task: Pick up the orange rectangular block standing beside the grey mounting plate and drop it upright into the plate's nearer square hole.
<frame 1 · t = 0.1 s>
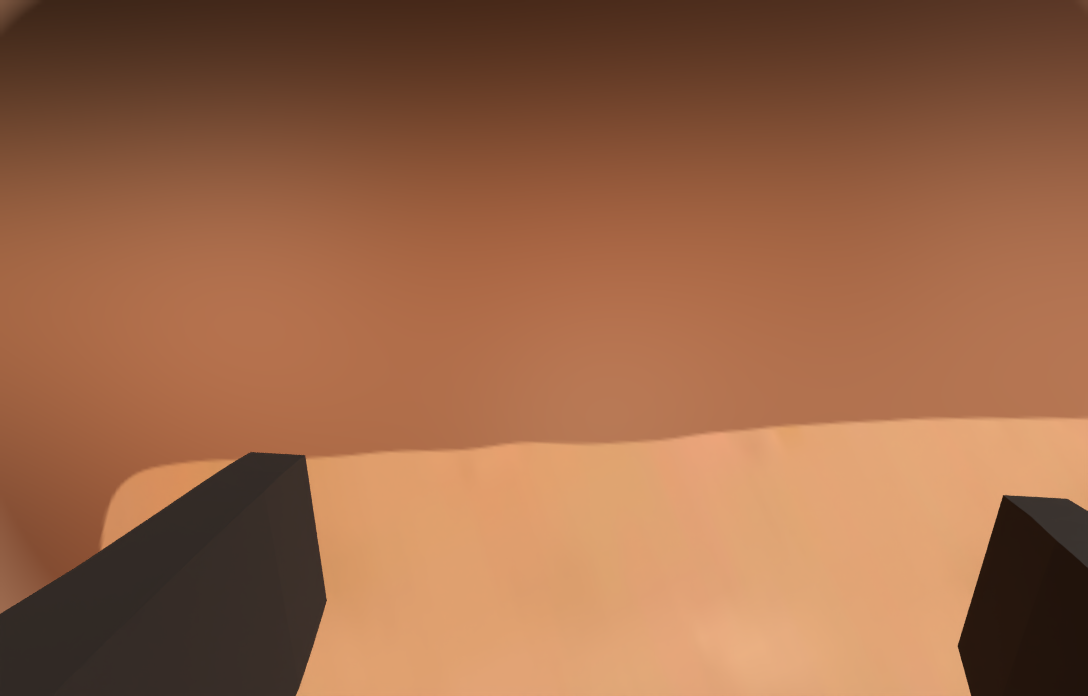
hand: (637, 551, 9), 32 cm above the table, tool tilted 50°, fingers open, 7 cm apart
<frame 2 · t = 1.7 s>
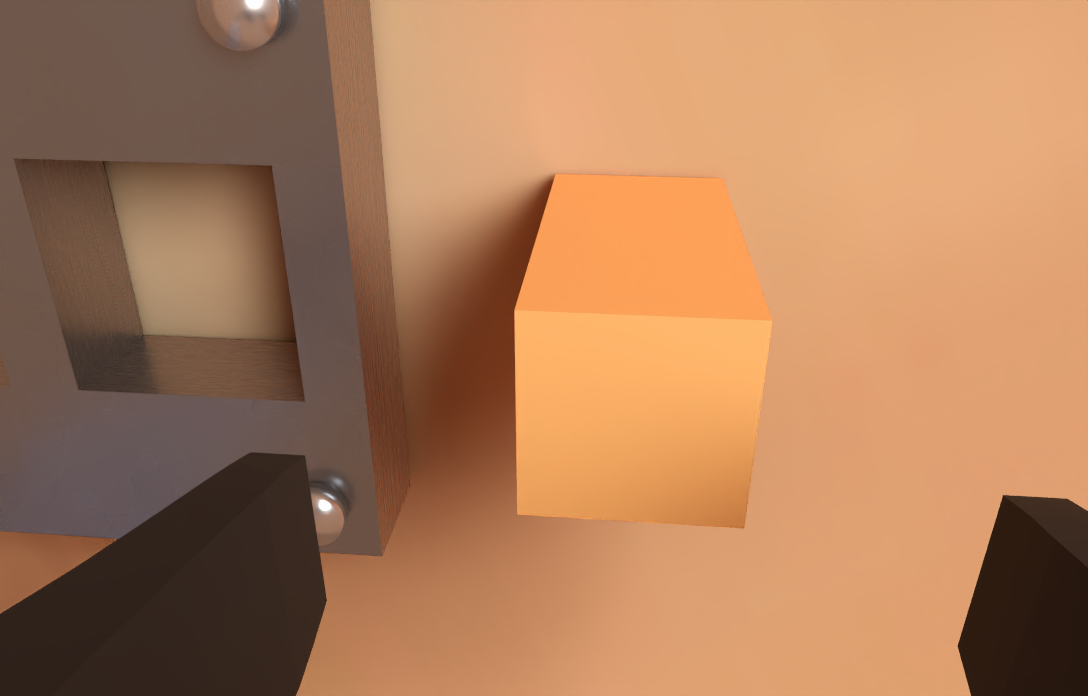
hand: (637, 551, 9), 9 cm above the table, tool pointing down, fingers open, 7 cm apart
grey mounting plate: (88, 235, 18), on the table
orange rectangular block: (634, 254, 17), on the table
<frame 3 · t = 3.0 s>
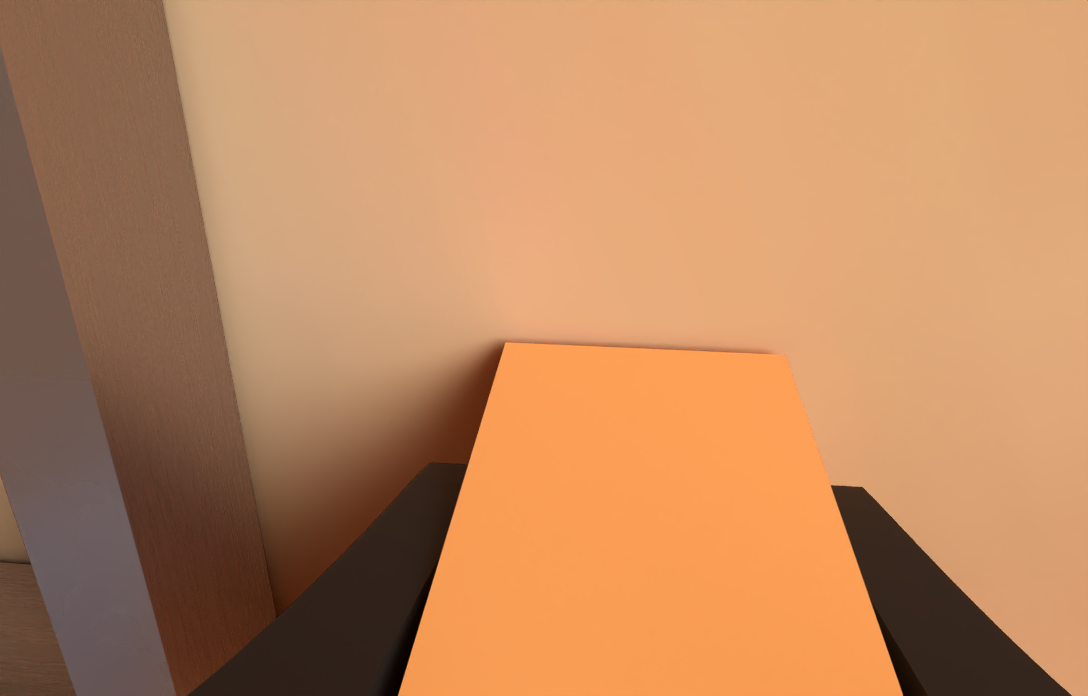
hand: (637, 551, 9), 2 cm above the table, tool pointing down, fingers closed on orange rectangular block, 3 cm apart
orange rectangular block: (636, 464, 11), on the table, touching gripper
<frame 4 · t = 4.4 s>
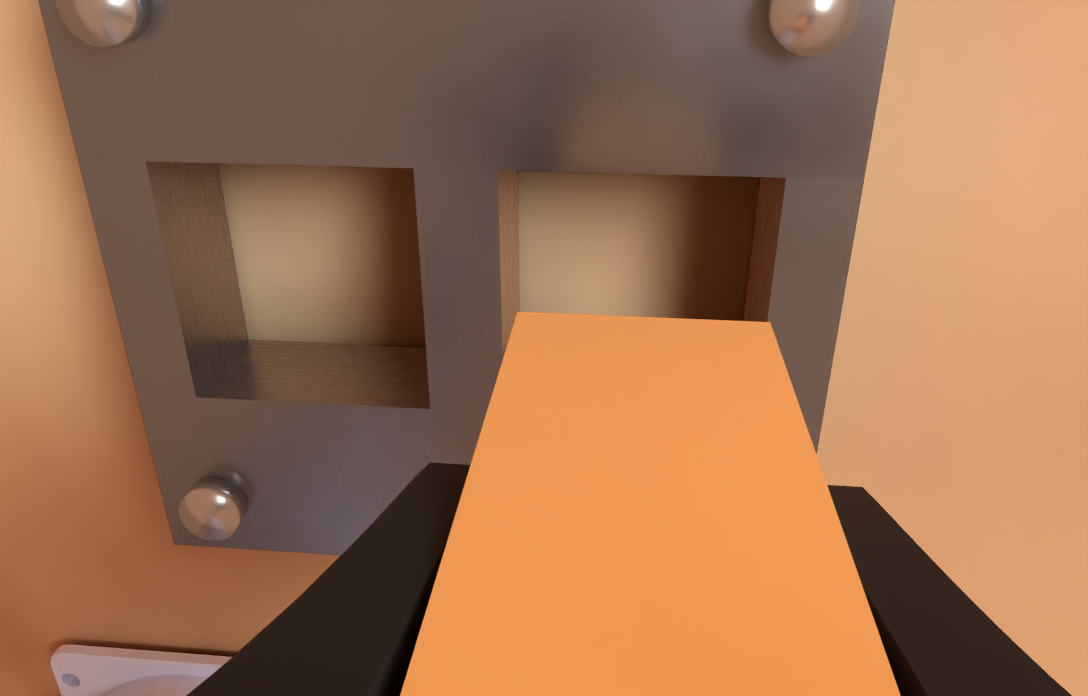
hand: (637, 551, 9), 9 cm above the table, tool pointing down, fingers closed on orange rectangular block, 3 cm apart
grey mounting plate: (484, 249, 17), on the table
orange rectangular block: (635, 424, 12), point 6 cm above the table, touching gripper
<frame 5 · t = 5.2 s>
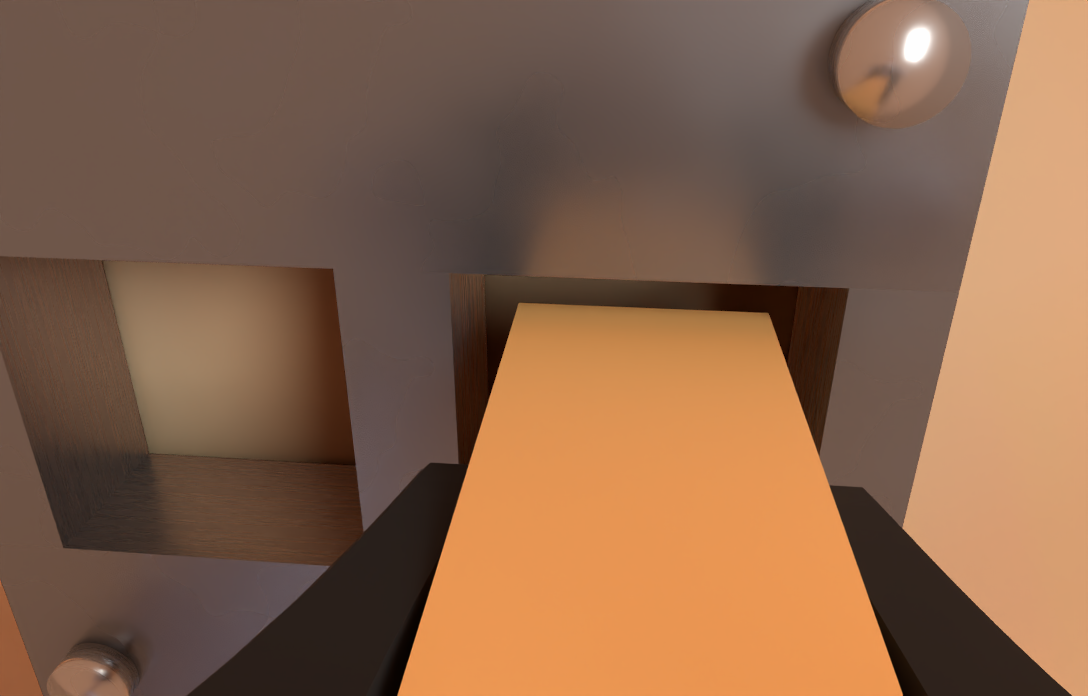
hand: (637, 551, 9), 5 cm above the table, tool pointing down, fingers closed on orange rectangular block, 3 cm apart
grey mounting plate: (442, 349, 13), on the table
orange rectangular block: (635, 414, 12), point 2 cm above the table, touching gripper
when the fingers open (3 cm above the table, at t = 5.8 s): orange rectangular block stays where it is, resting in grey mounting plate.
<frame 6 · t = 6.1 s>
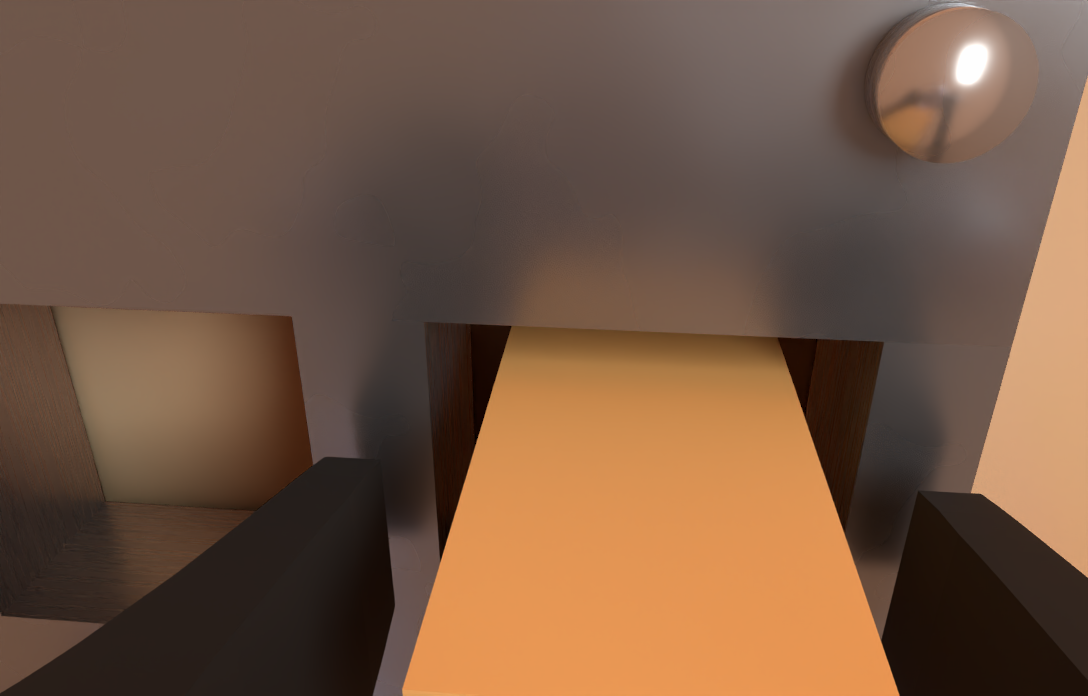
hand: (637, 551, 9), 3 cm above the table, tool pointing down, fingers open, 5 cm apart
grey mounting plate: (424, 392, 12), on the table
orange rectangular block: (635, 405, 12), resting in grey mounting plate
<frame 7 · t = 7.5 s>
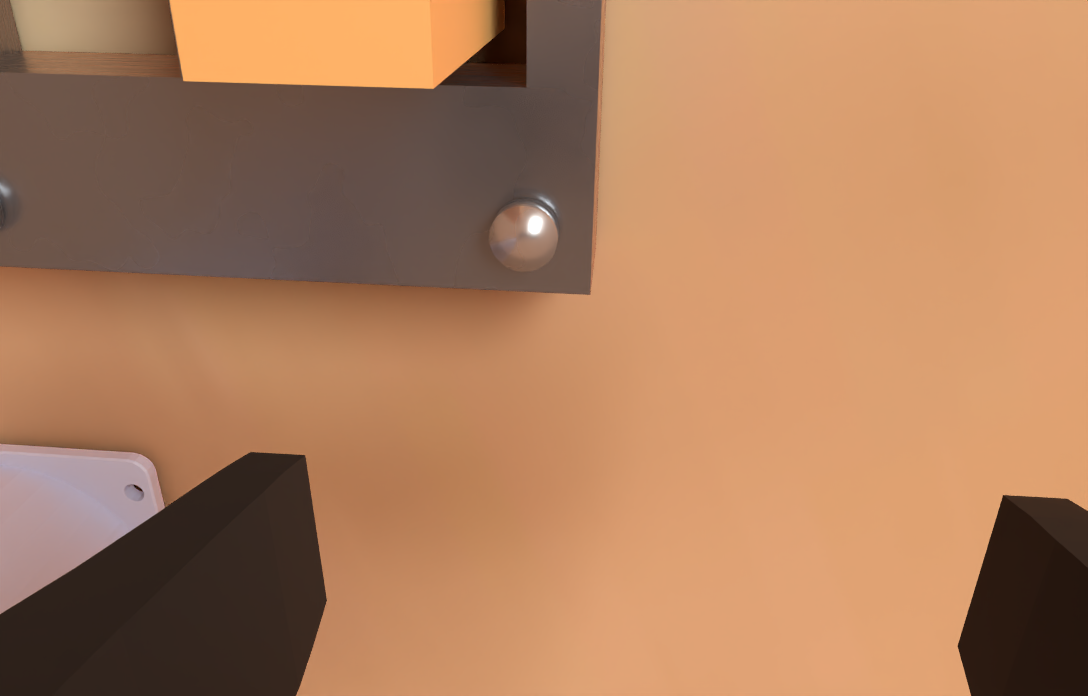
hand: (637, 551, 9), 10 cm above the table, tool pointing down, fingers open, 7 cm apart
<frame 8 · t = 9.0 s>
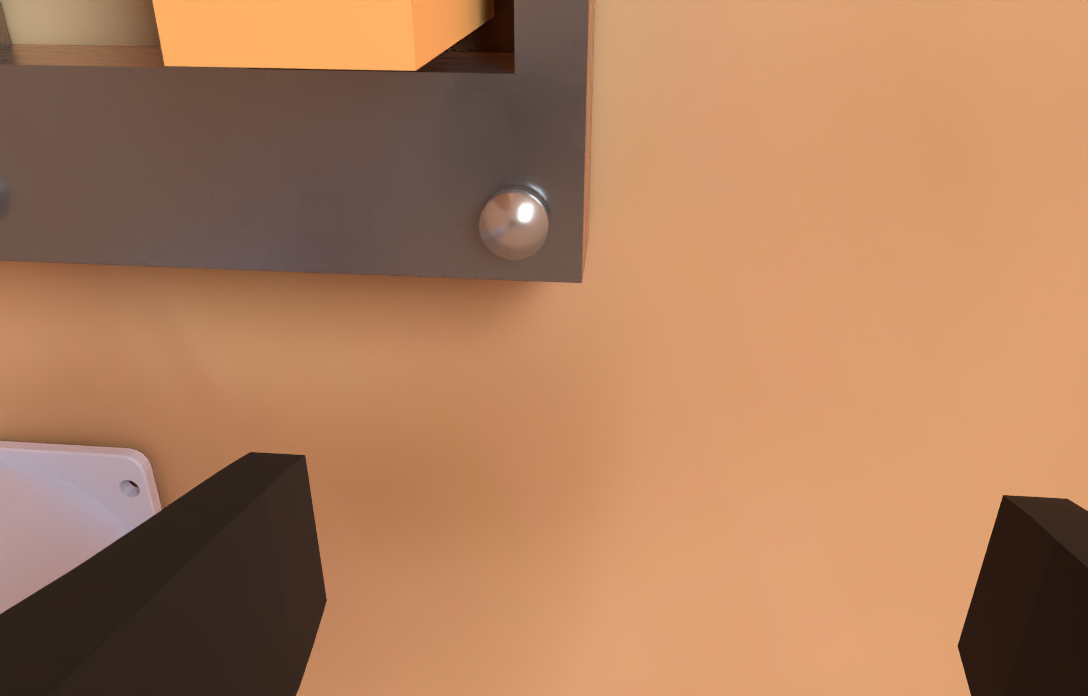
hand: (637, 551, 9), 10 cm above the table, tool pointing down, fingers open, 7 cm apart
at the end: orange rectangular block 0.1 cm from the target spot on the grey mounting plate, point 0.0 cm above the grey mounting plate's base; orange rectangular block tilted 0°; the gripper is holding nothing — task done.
